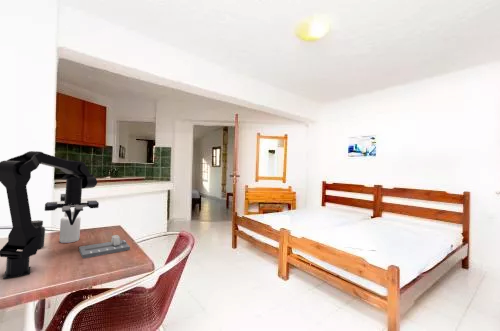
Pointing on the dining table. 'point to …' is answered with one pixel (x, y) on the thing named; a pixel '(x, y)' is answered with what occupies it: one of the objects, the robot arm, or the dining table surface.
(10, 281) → the dining table surface
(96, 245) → the console
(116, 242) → the fader
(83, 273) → the dining table surface
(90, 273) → the dining table surface
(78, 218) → the pill bottle
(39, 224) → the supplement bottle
